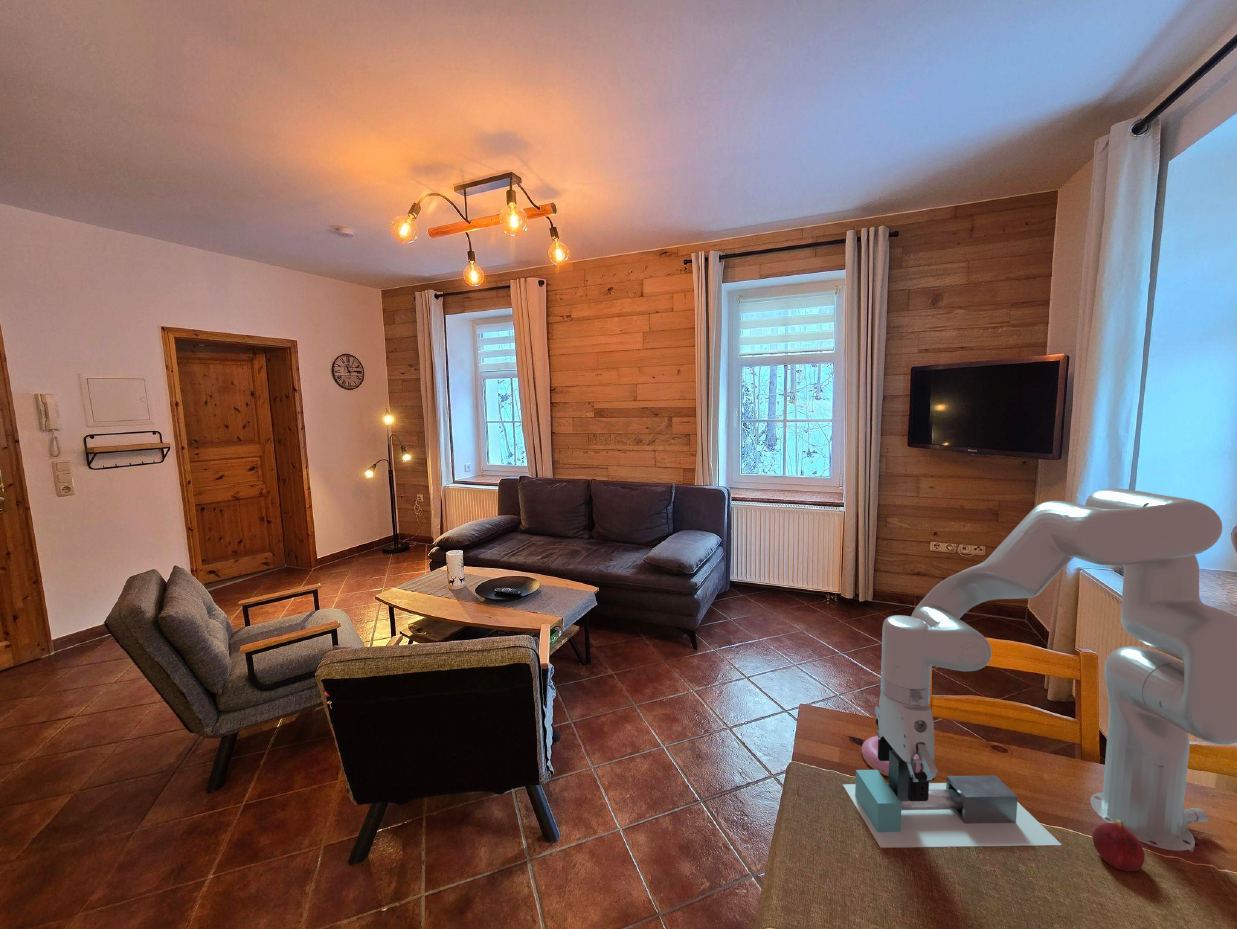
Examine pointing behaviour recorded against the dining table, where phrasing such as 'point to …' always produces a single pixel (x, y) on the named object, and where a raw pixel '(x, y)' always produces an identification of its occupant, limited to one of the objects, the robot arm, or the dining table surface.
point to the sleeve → (984, 799)
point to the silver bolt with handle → (937, 797)
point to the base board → (956, 829)
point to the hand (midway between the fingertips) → (901, 778)
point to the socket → (878, 801)
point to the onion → (1118, 846)
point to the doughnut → (872, 759)
